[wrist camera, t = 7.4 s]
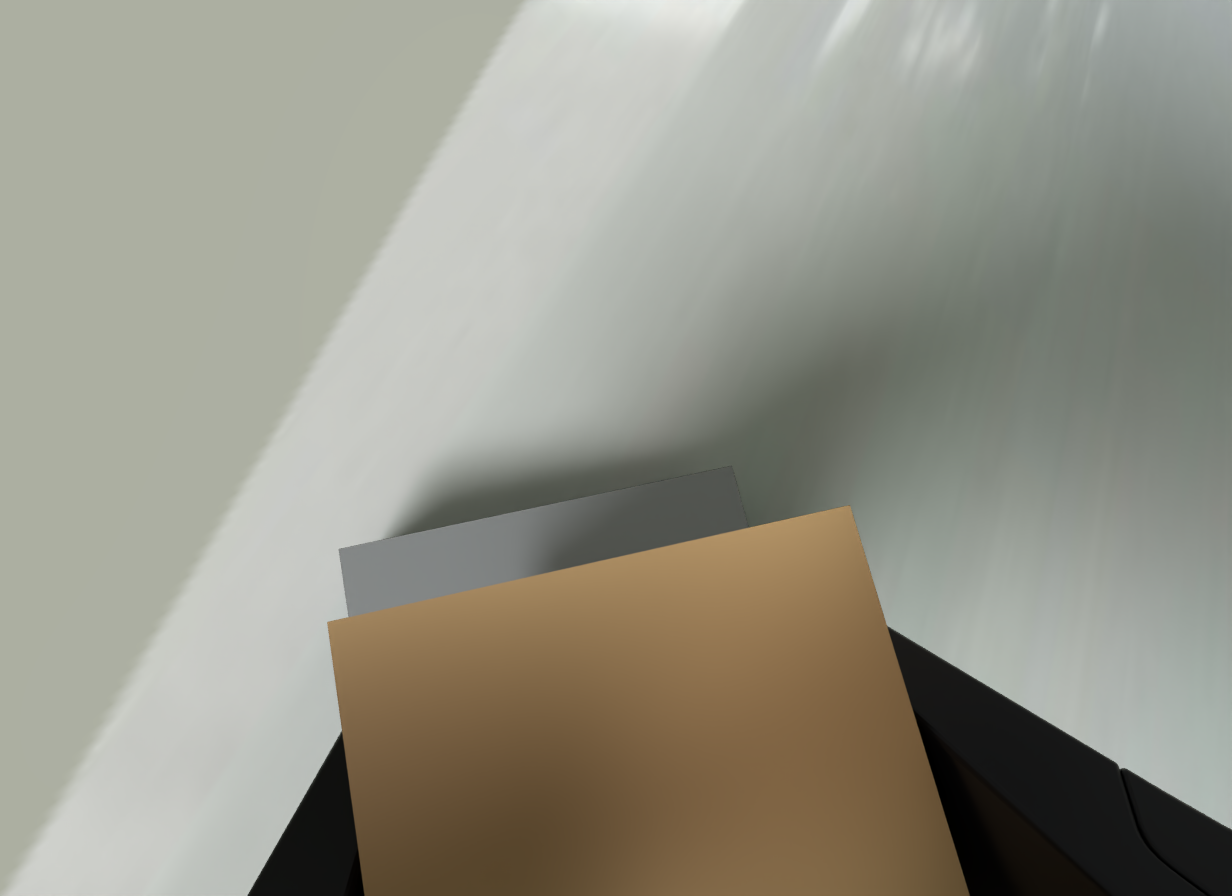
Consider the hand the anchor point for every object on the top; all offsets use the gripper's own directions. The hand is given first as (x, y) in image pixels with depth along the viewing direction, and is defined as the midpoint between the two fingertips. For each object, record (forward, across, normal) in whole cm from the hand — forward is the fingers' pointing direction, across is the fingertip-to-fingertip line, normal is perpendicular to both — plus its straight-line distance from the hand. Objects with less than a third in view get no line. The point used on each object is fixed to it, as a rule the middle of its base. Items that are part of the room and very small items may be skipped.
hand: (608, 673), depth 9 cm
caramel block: (+4, 0, +6) cm, 7 cm away
